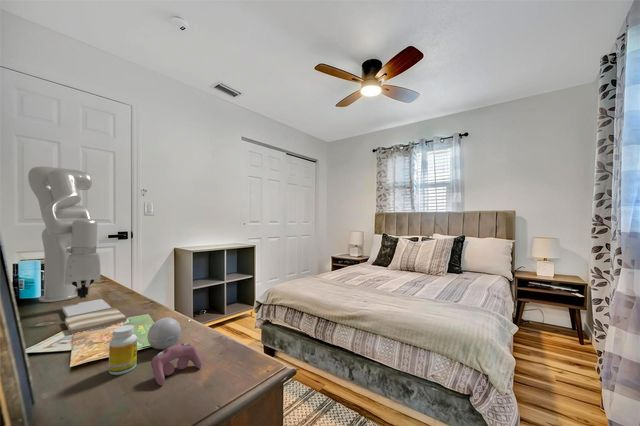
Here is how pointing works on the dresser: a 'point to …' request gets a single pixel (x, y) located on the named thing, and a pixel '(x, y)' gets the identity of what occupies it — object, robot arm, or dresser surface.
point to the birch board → (94, 320)
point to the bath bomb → (164, 333)
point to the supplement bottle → (122, 350)
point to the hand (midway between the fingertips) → (82, 297)
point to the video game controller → (163, 359)
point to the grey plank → (85, 308)
